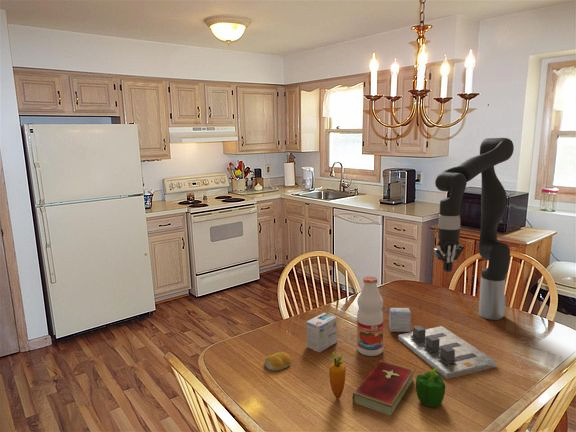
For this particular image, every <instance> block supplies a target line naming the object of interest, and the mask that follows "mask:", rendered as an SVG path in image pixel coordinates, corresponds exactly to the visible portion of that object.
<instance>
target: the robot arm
mask: <svg viewBox="0 0 576 432" xmlns="http://www.w3.org/2000/svg"><path fill="white" fill-rule="evenodd" d="M514 148H515V147H514V143H513V141H512V139H510V138H507V137H489V138H487V137H486V138H484V139H483V140H482V141H481V143H480V145H479V154H477V155H475V156H472V157H470V158H467V159H466V160H464V161H462V162H461V163H460V164H458V165H457V166H453V167H451V168H449V169H445V170H443V171H441V172H440V173H439V174H438V175H437V176H436V178H435V180H434V181H435V182H434V184H435V187H436V189H437V190H439V191H441V192H447V193H451V194H450V195H449V197H443V198H442V199H440V201H439V216H438V225H437V226H438V228H437V238H438V242H437V247H436V248H433V249H432V252H433V254H434V255H435V256H436V258H437V259H438V260H439V261H441V262H443V270H444V272H446V273H449V272H452V270H453V263H454V261H457V260H458V259H459V257H460V255H461V254H462V252H463V251H464V249H465V246H463V245H462V244H460V241H459V240H460V239H461V203H462V200H463V196H464V193H465V191H466V188H467V183H468V182H470V181H472V180H473V179H474V178H475V177H477V176H478V175H479V174H481V193H480V194H481V195H480V199H481V200H480V211H481V212H480V213H481V215H480V234H479V241H478V254H479V255H480V257H481V258H482V259H484V260H486V261H488V266H487V267H485V268H482V270H481V273H480V285H479V286H480V288H479V304H478V316H480V317H482V318H484V319H487V320H492V321H493V320H494V321H496V320H497V321H498V320H502V319H503V318H504V317H505V314H506V301H507V300H506V299H507V295H506V294H505V290H506V289H505V287H506V275H507V274H508V271H509V267H510V258H511V249H510V246H509V245H508V244H507V243H505V242H503V241H500V240H498V227H499V224H500V222H501V220H502V218H503V217H504V215H505V214H506V210H507V191H506V189H505V187H504V186H503V184H502V183H501V181H500V179H499V178H498V176H497V173H496V170H495V166H497V165H499V164H502V163H504V162H506V161H508V160H509V159H510V158H511V157H512V156H513V154H514Z"/></svg>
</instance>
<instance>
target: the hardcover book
mask: <svg viewBox="0 0 576 432" xmlns="http://www.w3.org/2000/svg"><path fill="white" fill-rule="evenodd" d="M414 373H415V369H412V368H409V367H407V366H402V365H399V364H395V363H391V362H388V361H384V360H383V359H382V360H381V359H380V360H379V361H378V363H377V364H376V365H375V366H374V367H373V368H372V370H371V371H370V372H369V374H368V375H366V377H365V379H364V380H363V381H362V382H361V384H359V386H358V387H357V388H356V390H355V391H354V392H353V394H352V403H353V404H357V405H360V406H362V407H365V408H368V409H370V410H374V411H377V412H379V413H381V414H383V415H386V416H390V417H391V415H392V414H393V413H394V411H395V409H396V407H397V406H398V404H399V403H400V401H401V400H402V399H403V397H404V395H405V393H406V392H407V390H408V388H410V385H411V384H412V382H413V380H414V379H413V378H414Z"/></svg>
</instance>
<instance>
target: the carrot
mask: <svg viewBox="0 0 576 432" xmlns="http://www.w3.org/2000/svg"><path fill="white" fill-rule="evenodd" d="M331 355H332V357H333V363H331V364H330V366H329V368H328V370H329V371H328V372H329V373H328V374H329V376H328V377H329V383H330V388H331V391H332V394H333V396H334V397H335V398H336V400H339V399H340V398H341V396H342V395H343V393H344V389H345V383H346V372H347V371H346V366H345V365H344V364H343V363H344V362H343V361H342V359H343V354H342V353H341V354H339V355H338V356H337V357H336V353H335V352H332V353H331Z"/></svg>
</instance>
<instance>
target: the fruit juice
mask: <svg viewBox="0 0 576 432" xmlns="http://www.w3.org/2000/svg"><path fill="white" fill-rule="evenodd" d="M362 281H363V286H362V289H361V292H360V294H359V295H358V297H357V307H358V310H357V313H356V348H357V351H358V353H360V354H362V355H364V356H367V357H368V356H369V357H375V356H379V355H381V354H382V352H383V350H384V312H383V309H382V308H383V306H384V298H383V297H382V296H381V293H380V291H379V287H378V286H377V284H378V278H377V277H376V276H372V275H371V276H370V275H368V276H364V277H363V279H362Z"/></svg>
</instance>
